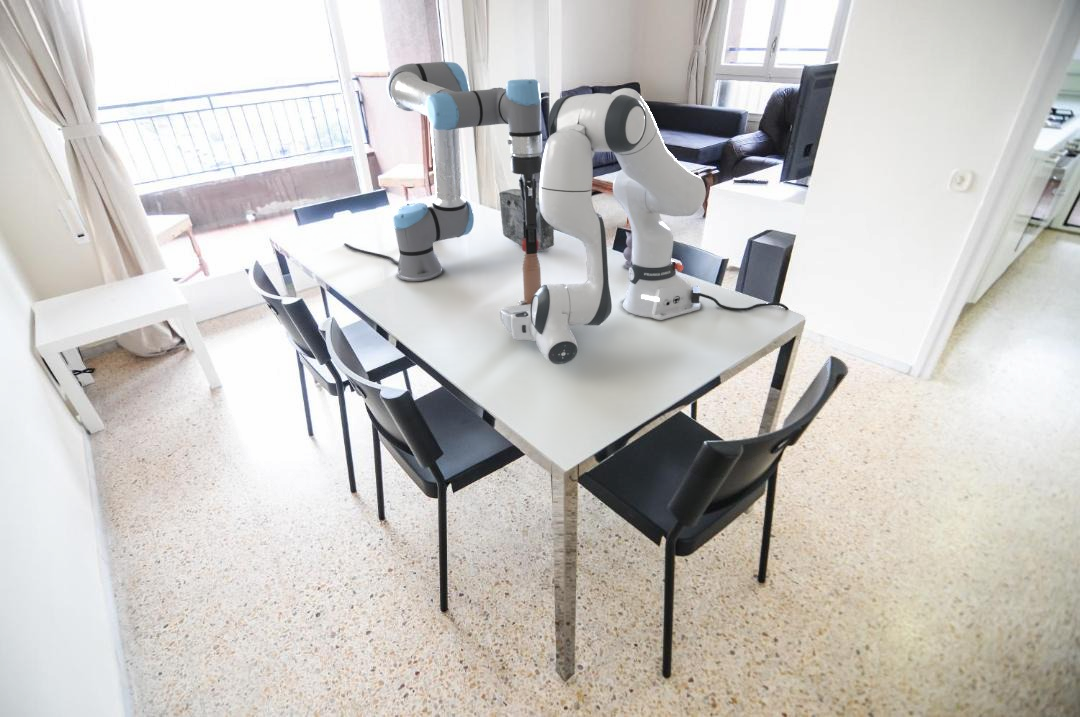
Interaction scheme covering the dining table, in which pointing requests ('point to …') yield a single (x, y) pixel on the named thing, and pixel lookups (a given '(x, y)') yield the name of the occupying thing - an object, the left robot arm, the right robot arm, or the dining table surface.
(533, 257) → the bottle
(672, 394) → the dining table surface
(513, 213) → the concrete block
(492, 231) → the dining table surface
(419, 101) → the left robot arm
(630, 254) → the cat figurine
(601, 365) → the dining table surface
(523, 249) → the cap
